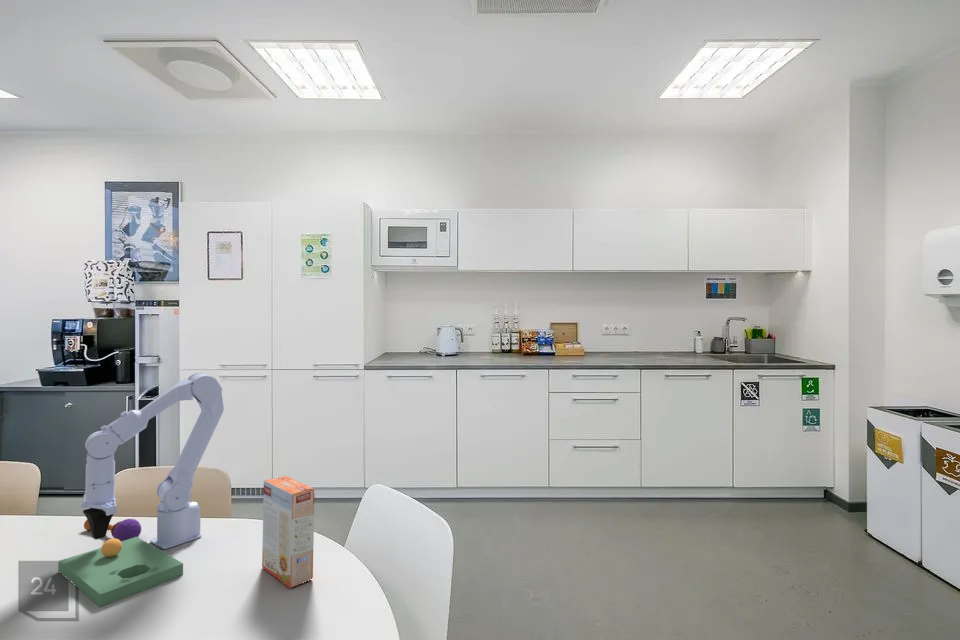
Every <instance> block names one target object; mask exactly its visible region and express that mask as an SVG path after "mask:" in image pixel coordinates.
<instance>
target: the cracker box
mask: <svg viewBox="0 0 960 640" xmlns="http://www.w3.org/2000/svg"><path fill="white" fill-rule="evenodd" d="M262 504H263V505H262V507H263V508H262V509H263V510H262V512H263V513H262V550H261V551H262V554H261V555H262V557H261V560H262V561H261V567H262V569H263V568H264V569H263V570H264V571H266V572H267V573H269V574H270V575H271V576H273V577H274V578H275V579H276V578H277V580H278V581H279V582H280V583H282V584H283V585H285V586H286V588H288V587H289V588H288V589H292V587H293V588H295V587H294V586H296V587H298V586H300V585H299V584H301V583H303V582H305V581H308V580H310V579H312V578H313V579H314V543H315V542H314V541H315V539H314V534H315V533H314V532H315V531H314V530H315V528H314V527H315V488H313V487H311V486H310V485H309V486H308V485H307V484H304V483H302V482H300V481H298V480H295V479H294V478H291V477H290V476H287V475H282V476H278V477H274V478H270V479H266V480H263V502H262ZM308 582H309V581H308ZM303 584H304V583H303ZM297 585H298V586H297ZM301 585H302V584H301Z"/></svg>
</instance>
